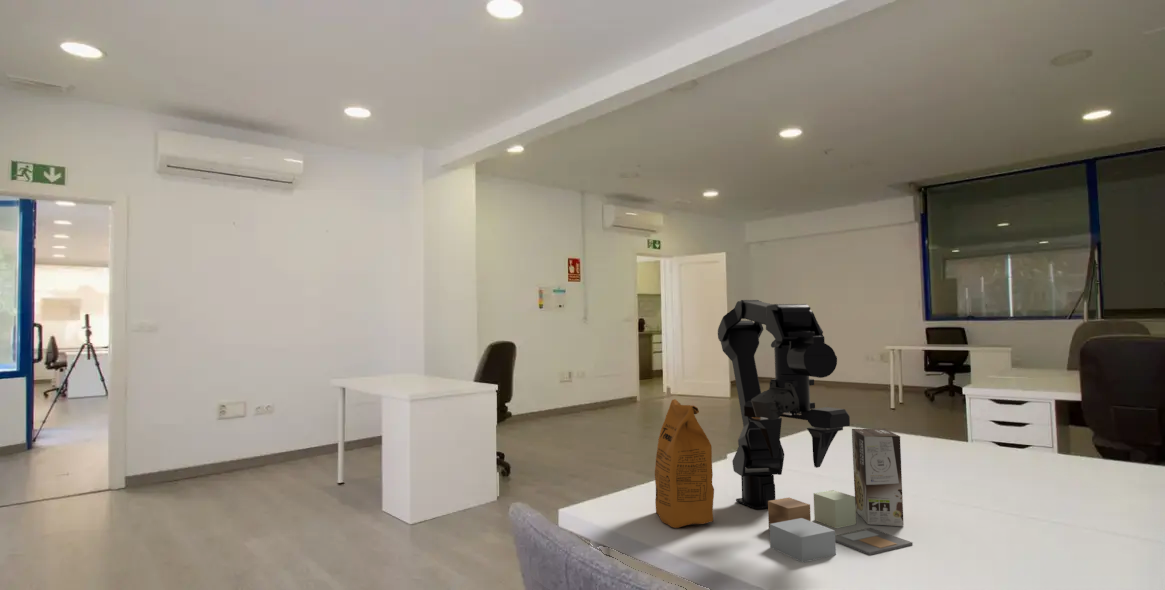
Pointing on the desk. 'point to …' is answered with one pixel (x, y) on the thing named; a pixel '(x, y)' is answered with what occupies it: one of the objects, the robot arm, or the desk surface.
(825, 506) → the sage block
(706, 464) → the coffee package
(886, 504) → the coffee box
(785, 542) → the slate base block
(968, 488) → the desk surface
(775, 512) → the walnut block
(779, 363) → the robot arm
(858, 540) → the card
